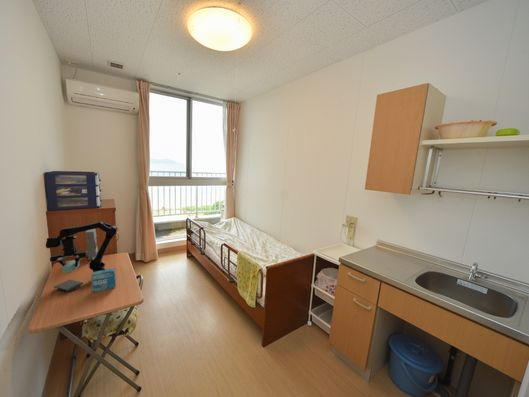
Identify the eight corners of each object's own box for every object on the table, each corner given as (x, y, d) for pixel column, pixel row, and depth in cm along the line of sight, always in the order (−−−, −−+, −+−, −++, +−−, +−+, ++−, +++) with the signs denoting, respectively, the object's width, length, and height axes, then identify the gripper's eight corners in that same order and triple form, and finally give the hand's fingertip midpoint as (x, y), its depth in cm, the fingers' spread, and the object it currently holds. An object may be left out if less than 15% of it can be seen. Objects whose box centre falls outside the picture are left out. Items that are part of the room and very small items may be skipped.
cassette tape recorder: (97, 259, 187) (94, 231, 183) (88, 260, 184) (85, 232, 180) (99, 253, 199) (96, 227, 195) (90, 255, 195) (87, 228, 192)
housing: (79, 265, 153) (79, 260, 152) (71, 272, 143) (71, 266, 143) (71, 266, 152) (70, 260, 151) (62, 273, 142) (61, 267, 142)
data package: (92, 292, 137) (90, 275, 135) (94, 289, 141) (92, 272, 139) (115, 287, 143) (114, 270, 141) (116, 284, 147) (114, 267, 145)
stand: (83, 286, 145) (82, 282, 144) (67, 293, 136) (67, 289, 136) (70, 282, 149) (69, 279, 148) (54, 289, 140) (53, 286, 140)
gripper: (89, 240, 156) (91, 260, 159) (55, 244, 148) (58, 265, 151) (84, 245, 146) (87, 266, 149) (47, 249, 138) (51, 272, 141)
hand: (71, 267), depth 147 cm, fingers closed on housing, 5 cm apart
